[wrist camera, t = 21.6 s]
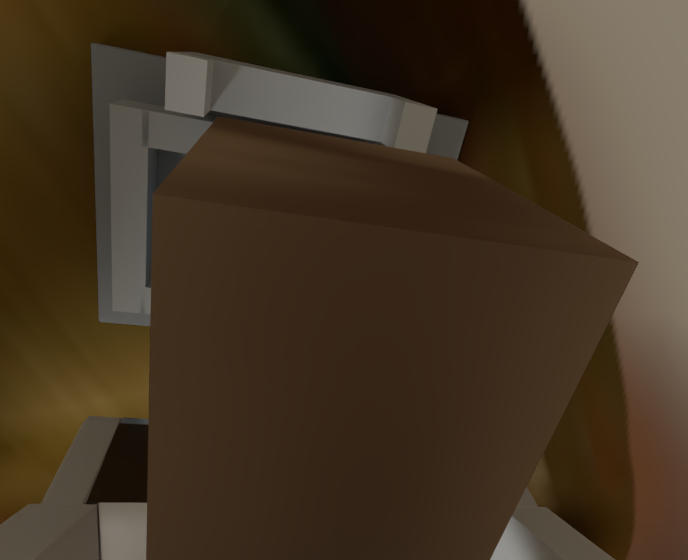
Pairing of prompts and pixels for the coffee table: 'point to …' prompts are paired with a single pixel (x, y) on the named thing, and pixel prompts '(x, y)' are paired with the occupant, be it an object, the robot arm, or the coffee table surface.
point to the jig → (191, 123)
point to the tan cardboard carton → (355, 349)
